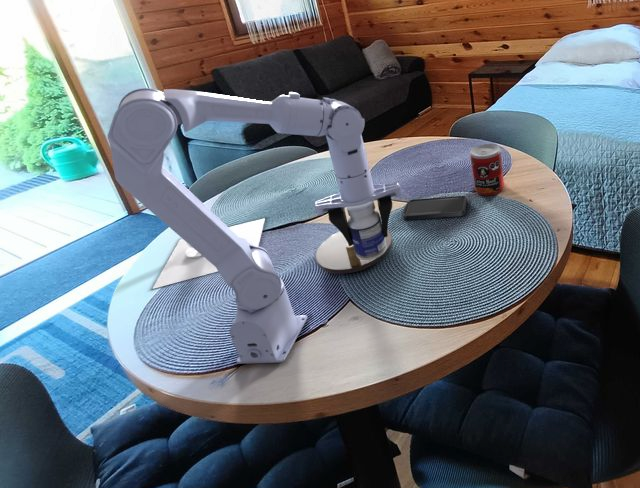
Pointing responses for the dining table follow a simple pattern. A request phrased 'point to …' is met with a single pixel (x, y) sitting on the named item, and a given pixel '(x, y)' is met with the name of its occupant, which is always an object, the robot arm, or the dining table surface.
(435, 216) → the phone
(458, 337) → the dining table surface
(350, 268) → the tray
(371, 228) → the pill bottle
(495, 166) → the canned food
